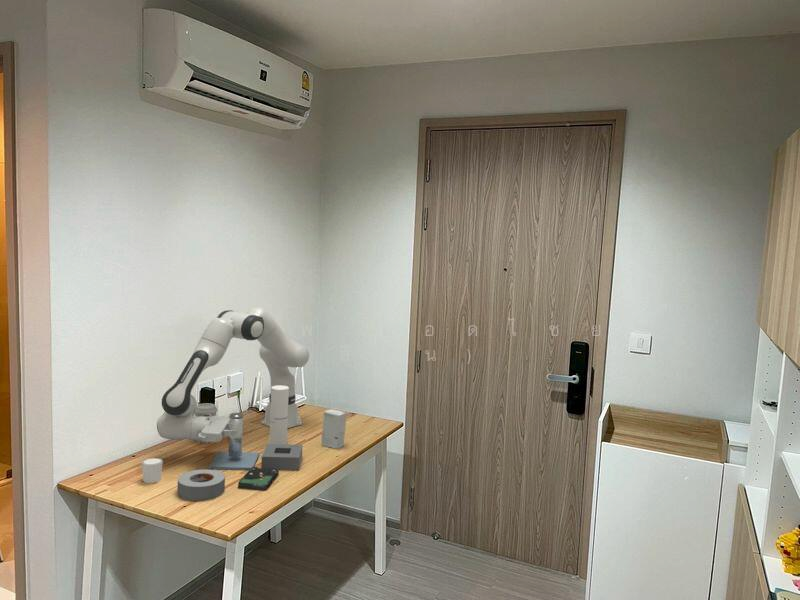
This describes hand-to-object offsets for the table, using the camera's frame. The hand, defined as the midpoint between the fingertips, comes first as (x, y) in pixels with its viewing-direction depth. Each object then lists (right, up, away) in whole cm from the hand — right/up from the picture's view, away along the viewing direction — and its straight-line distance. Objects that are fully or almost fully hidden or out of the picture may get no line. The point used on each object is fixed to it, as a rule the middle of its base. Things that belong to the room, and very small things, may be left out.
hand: (238, 429), depth 229 cm
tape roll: (-5, -16, -26) cm, 31 cm away
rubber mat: (-1, -13, +1) cm, 13 cm away
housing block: (+16, -14, +3) cm, 21 cm away
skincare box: (+34, -12, +25) cm, 44 cm away
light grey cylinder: (-25, -14, -20) cm, 35 cm away
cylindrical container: (+11, -12, +21) cm, 27 cm away
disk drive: (+12, -16, -15) cm, 25 cm away
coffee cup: (-20, -10, +23) cm, 32 cm away
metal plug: (-1, -10, +1) cm, 10 cm away
